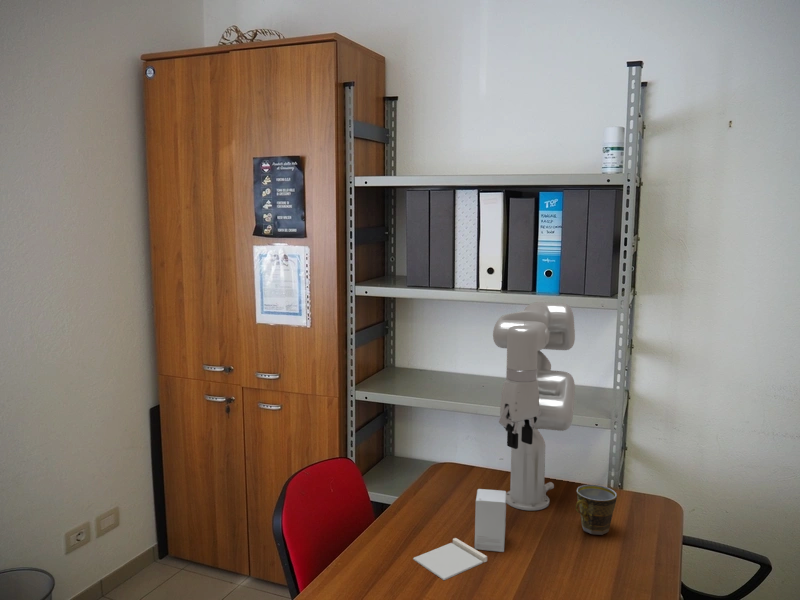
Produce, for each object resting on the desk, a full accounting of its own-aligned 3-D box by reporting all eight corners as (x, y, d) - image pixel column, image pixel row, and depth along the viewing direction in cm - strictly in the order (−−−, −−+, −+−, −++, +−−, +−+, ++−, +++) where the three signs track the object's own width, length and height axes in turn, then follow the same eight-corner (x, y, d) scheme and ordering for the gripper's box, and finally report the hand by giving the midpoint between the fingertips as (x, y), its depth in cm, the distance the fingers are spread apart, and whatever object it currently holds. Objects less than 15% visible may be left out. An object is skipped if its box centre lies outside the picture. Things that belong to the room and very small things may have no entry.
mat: (451, 544, 155) (451, 542, 155) (482, 563, 146) (482, 561, 146) (413, 559, 148) (413, 557, 148) (443, 580, 139) (443, 578, 139)
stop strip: (455, 542, 156) (455, 537, 156) (487, 561, 147) (487, 556, 147) (452, 543, 155) (452, 539, 155) (484, 562, 147) (484, 557, 146)
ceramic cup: (591, 516, 170) (592, 481, 169) (623, 531, 162) (625, 494, 161) (559, 529, 163) (561, 493, 161) (591, 545, 155) (593, 507, 153)
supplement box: (504, 552, 151) (505, 502, 150) (473, 549, 153) (474, 500, 151) (505, 538, 158) (506, 490, 157) (476, 535, 160) (477, 487, 158)
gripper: (532, 367, 165) (530, 434, 167) (486, 376, 155) (485, 448, 157) (555, 373, 159) (553, 442, 161) (509, 382, 149) (507, 456, 151)
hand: (519, 444), depth 159 cm, fingers open, 4 cm apart
